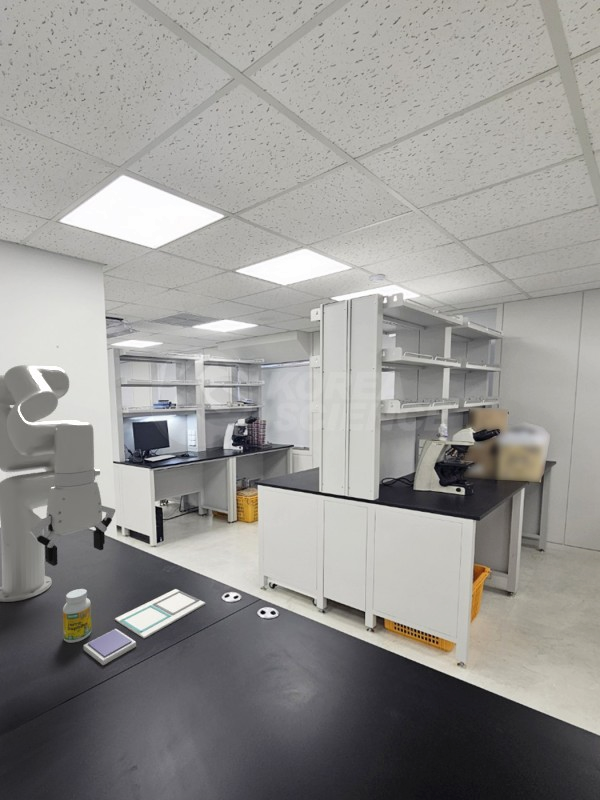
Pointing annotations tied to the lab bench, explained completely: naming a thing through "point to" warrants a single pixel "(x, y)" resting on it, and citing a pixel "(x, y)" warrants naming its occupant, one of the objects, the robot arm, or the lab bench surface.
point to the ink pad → (109, 646)
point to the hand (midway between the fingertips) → (76, 556)
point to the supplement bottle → (76, 616)
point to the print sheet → (159, 612)
